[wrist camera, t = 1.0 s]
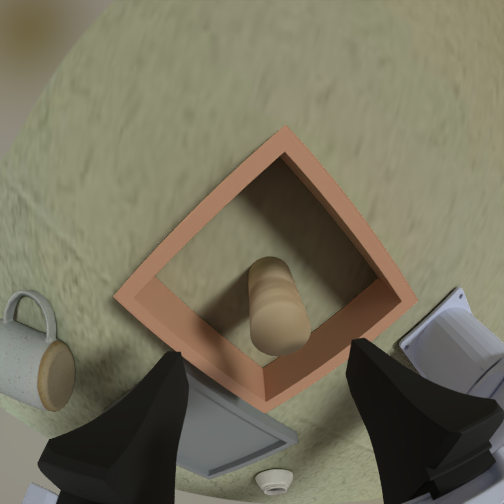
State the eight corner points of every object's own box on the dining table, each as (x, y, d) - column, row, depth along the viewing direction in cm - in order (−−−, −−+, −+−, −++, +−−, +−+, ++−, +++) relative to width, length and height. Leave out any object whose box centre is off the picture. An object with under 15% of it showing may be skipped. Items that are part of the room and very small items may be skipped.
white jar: (298, 475, 30) (282, 463, 29) (300, 491, 28) (284, 481, 26) (266, 483, 31) (248, 472, 30) (267, 499, 28) (249, 490, 27)
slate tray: (296, 431, 26) (298, 442, 25) (209, 470, 29) (209, 479, 28) (177, 352, 22) (174, 363, 21) (103, 409, 25) (99, 419, 24)
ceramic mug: (85, 383, 24) (56, 434, 16) (28, 362, 23) (-5, 403, 16) (67, 293, 21) (17, 340, 13) (7, 277, 20) (-42, 311, 13)
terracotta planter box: (393, 277, 21) (418, 300, 17) (261, 379, 23) (264, 413, 20) (277, 131, 17) (285, 124, 13) (133, 272, 20) (113, 296, 16)
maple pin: (298, 277, 20) (322, 331, 14) (267, 303, 21) (277, 364, 14) (271, 247, 20) (284, 294, 13) (239, 276, 20) (237, 332, 14)
